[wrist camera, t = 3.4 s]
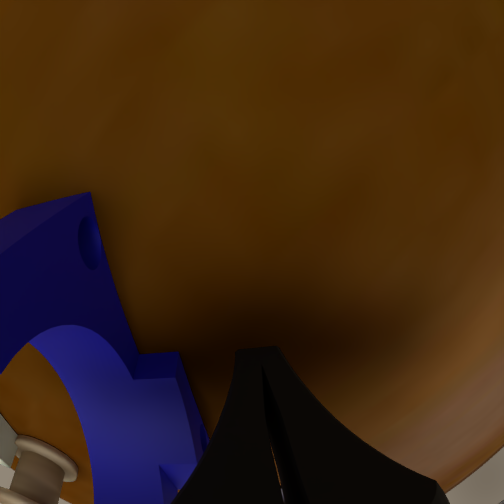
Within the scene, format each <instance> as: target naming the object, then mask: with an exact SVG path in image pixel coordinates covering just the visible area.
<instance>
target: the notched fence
mask: <svg viewBox="0 0 504 504" xmlns="http://www.w3.org/2000/svg"><path fill="white" fill-rule="evenodd" d="M17 436H18V435H17V434H16V433H15V432H14V430H13V429H12V428H11V427H10V425H9V424H8V423H7V422H6V420H5V419H4V418H3V417H2V415H1V414H0V465H3V466H6V467H9V468H10V467H11V465H12V462H13V459H14V456H15V454H16V451H17V448H18V447H17V446H16V444H15V441H16V438H17Z"/></svg>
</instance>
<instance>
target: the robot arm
mask: <svg viewBox="0 0 504 504" xmlns="http://www.w3.org/2000/svg"><path fill="white" fill-rule="evenodd" d="M269 439H270V440H269ZM270 443H271V445H270ZM271 447H272V449H271ZM272 450H273V454H274V457H275V461H276V464H277V468H278V472H279V476H280V481H281V487H282V489H281V488H280V484H279V480H278V476H277V471H276V467H275V463H274V458H273V454H272ZM170 504H450V503H449V501H448V499H447V497H446V495H445V493H444V491H443V490H442V489H441V487H440V486H439V484H438V483H437V481H435V480H433V479H430V478H428V477H426V476H423V475H421V474H419V473H417V472H415V471H412V470H410V469H408V468H406V467H404V466H403V465H401V464H399V463H397V462H395V461H393V460H392V459H390V458H388V457H387V456H385V455H384V454H382V453H380V452H379V451H377V450H376V449H374V448H373V447H371V446H370V445H368V444H367V443H365V442H364V441H363V440H361V439H360V438H359V437H357V436H356V435H355V434H354V433H352V432H351V431H350V430H349V429H347V428H346V427H345V426H344V425H343V424H342V423H341V422H339V421H338V420H337V419H336V418H335V417H334V416H333V415H332V414H331V413H330V412H329V411H328V410H327V409H326V408H325V407H324V406H323V405H322V404H321V403H320V402H319V401H318V400H317V399H316V397H315V396H314V395H313V394H312V393H311V392H310V390H309V389H308V388H307V387H306V386H305V384H304V383H303V382H302V381H301V380H300V378H299V377H298V376H297V374H296V373H295V371H294V370H293V369H292V367H291V366H290V364H289V363H288V361H287V360H286V358H285V357H284V355H283V353H282V352H281V350H280V348H279V347H277V346H270V347H260V348H250V349H239V350H238V351H236V352H235V367H234V372H233V377H232V382H231V385H230V389H229V392H228V396H227V399H226V402H225V405H224V408H223V411H222V413H221V416H220V419H219V421H218V424H217V426H216V429H215V431H214V433H213V435H212V437H211V439H210V442H209V444H208V446H207V448H206V450H205V451H204V453H203V455H202V457H201V459H200V460H199V462H198V464H197V466H196V467H195V469H194V471H193V472H192V474H191V475H190V477H189V478H188V480H187V481H186V483H185V484H184V486H183V487H182V488H181V490H180V491H179V493H178V494H177V496H176V497H175V498H174V500H173V501H172V502H171V503H170ZM499 504H504V500H503V501H501V502H500V503H499Z"/></svg>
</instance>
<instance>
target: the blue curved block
mask: <svg viewBox="0 0 504 504" xmlns="http://www.w3.org/2000/svg"><path fill="white" fill-rule="evenodd" d="M27 342H29V343H30V344H32V345H33V346H34V347H35V348H36V349H38V350H39V351H40V352H41V354H42V355H43V356H44V357H45V358H46V359H47V360H48V361H49V363H50V364H51V365H52V366H53V368H54V369H55V371H56V372H57V373H58V375H59V376H60V378H61V380H62V381H63V383H64V385H65V387H66V389H67V391H68V393H69V395H70V397H71V399H72V401H73V403H74V406H75V408H76V411H77V413H78V416H79V419H80V422H81V425H82V428H83V432H84V435H85V439H86V443H87V447H88V452H89V456H90V462H91V468H92V476H93V486H94V504H170V503H171V502H172V501H173V500H174V498H175V497H176V496H177V490H178V489H181V488H182V487H183V486H184V484H185V483H186V481H187V480H188V478H189V477H190V475H191V474H192V472H193V471H194V469H195V467H196V466H197V464H198V462H199V460H200V459H201V457H202V455H203V453H204V451H205V450H206V448H207V446H208V444H209V437H208V435H207V432H206V429H205V427H204V424H203V422H202V419H201V416H200V414H199V411H198V408H197V405H196V403H195V400H194V397H193V394H192V391H191V388H190V385H189V383H188V380H187V377H186V374H185V371H184V367H183V364H182V361H181V358H180V355H179V352H166V353H153V354H139V352H138V350H137V347H136V345H135V342H134V339H133V337H132V334H131V331H130V329H129V326H128V323H127V320H126V318H125V315H124V312H123V309H122V306H121V303H120V300H119V297H118V294H117V291H116V288H115V285H114V282H113V278H112V275H111V272H110V269H109V265H108V262H107V258H106V255H105V251H104V247H103V244H102V240H101V236H100V232H99V228H98V224H97V220H96V216H95V212H94V207H93V203H92V198H91V193H90V192H87V193H82V194H78V195H73V196H69V197H65V198H61V199H57V200H53V201H49V202H45V203H41V204H37V205H33V206H30V207H26V208H22V209H19V210H16V211H14V212H12V213H10V214H9V215H7V216H5V217H4V218H2V219H0V374H1V373H2V372H3V371H4V369H5V368H6V366H7V365H8V363H9V362H10V361H11V359H12V358H13V357H14V356H15V354H16V353H17V352H18V351H19V350H20V349H21V348H22V347H23V346H24V345H25V344H26V343H27Z"/></svg>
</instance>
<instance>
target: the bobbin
mask: <svg viewBox="0 0 504 504" xmlns="http://www.w3.org/2000/svg"><path fill="white" fill-rule="evenodd" d="M15 444H16V446H17V447H18V448H17V451H16V454H15V455H16V456H17V457H18V458H19V462H18V465H17V467H16V470H15V473H14V477H13V480H12V483H11V486H10V489H6V488H3V487H0V503H1V504H58V501H59V497H60V492H61V488H62V484H63V481H66V482H72V481H75V480H76V477H77V473H78V467H77V465H76V464H75V462H74V461H73V460H72V459H70V458H69V457H68V456H67V455H65V454H64V453H63V452H61V451H59V450H58V449H56V448H55V447H53V446H51V445H49V444H47V443H45V442H43V441H41V440H38V439H36V438H33V437H30V436H25V435H18V436H17V438H16V441H15Z"/></svg>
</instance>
